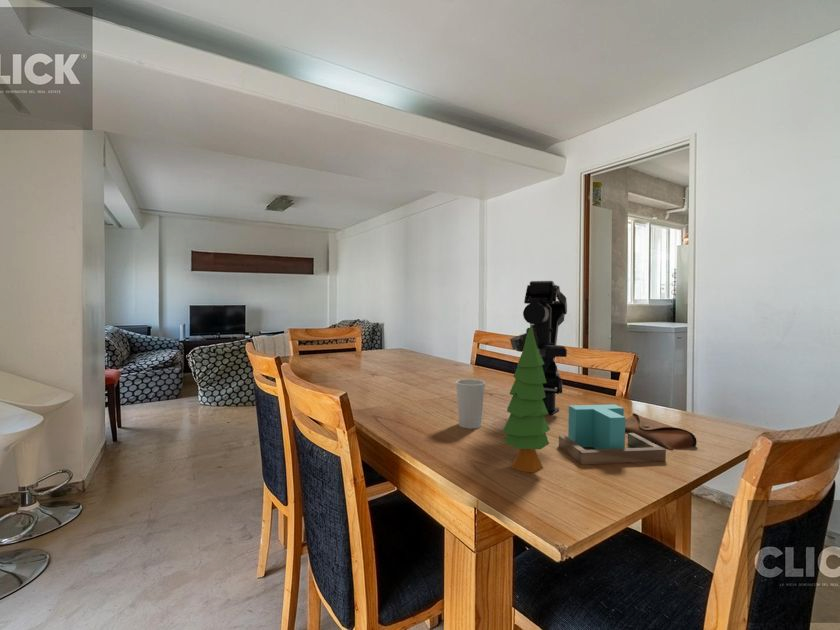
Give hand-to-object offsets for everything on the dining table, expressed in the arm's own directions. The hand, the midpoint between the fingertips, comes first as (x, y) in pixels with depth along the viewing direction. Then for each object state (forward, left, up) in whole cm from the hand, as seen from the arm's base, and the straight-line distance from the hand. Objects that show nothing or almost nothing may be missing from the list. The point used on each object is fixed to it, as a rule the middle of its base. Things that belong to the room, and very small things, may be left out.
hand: (539, 379), depth 112 cm
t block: (+10, +20, -12) cm, 26 cm away
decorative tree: (+31, +9, -12) cm, 35 cm away
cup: (+15, -14, -12) cm, 24 cm away
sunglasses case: (-7, +27, -13) cm, 31 cm away
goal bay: (+12, +22, -12) cm, 28 cm away
